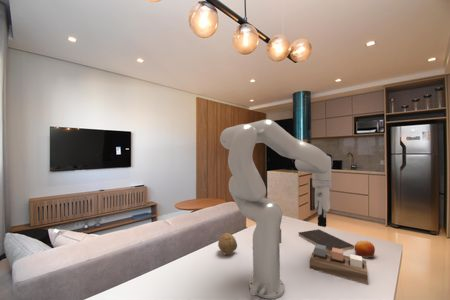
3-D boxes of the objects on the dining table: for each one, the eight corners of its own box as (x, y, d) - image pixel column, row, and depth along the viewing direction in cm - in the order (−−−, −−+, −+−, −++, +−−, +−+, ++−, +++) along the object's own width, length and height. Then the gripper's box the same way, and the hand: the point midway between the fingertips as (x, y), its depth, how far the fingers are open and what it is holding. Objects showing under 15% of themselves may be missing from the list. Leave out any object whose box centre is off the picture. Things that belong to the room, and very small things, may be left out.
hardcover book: (329, 254, 97) (329, 249, 97) (298, 236, 119) (298, 232, 119) (354, 249, 102) (354, 244, 102) (319, 232, 124) (319, 229, 124)
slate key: (325, 256, 85) (324, 249, 85) (314, 254, 87) (314, 247, 87) (326, 252, 89) (326, 246, 89) (316, 250, 91) (316, 243, 91)
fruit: (370, 259, 88) (361, 240, 92) (356, 261, 95) (348, 243, 99) (383, 257, 90) (374, 238, 95) (369, 259, 97) (361, 241, 101)
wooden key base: (367, 284, 74) (367, 274, 74) (309, 268, 85) (309, 259, 85) (366, 268, 84) (366, 260, 84) (314, 256, 95) (314, 248, 95)
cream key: (362, 268, 78) (362, 260, 78) (350, 265, 80) (350, 258, 80) (361, 264, 82) (361, 256, 82) (350, 261, 84) (350, 253, 84)
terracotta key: (342, 261, 82) (342, 253, 82) (331, 258, 84) (331, 251, 84) (343, 256, 85) (343, 249, 85) (332, 254, 87) (332, 247, 87)
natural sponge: (213, 253, 98) (213, 233, 98) (227, 247, 104) (227, 228, 104) (226, 261, 91) (226, 238, 91) (240, 254, 97) (240, 233, 97)
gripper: (329, 186, 80) (329, 233, 79) (333, 182, 92) (333, 223, 92) (309, 184, 84) (309, 229, 84) (315, 181, 96) (315, 220, 96)
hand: (322, 225), depth 88 cm, fingers closed
